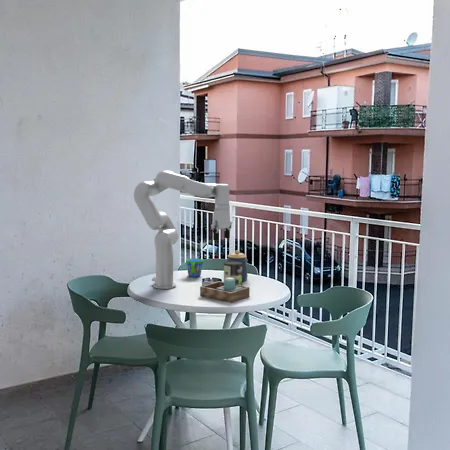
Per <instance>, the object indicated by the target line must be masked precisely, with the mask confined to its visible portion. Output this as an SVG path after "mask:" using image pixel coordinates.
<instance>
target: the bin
mask: <svg viewBox="0 0 450 450" xmlns="http://www.w3.org/2000/svg"><path fill="white" fill-rule="evenodd" d="M221 286H224V281H216V282H212V283H211V282H210V283H208V284H205V285H201V286H200V287H199V288H200V289H199V296H200V297H203V298H207V299H212V300H215V301H216V300H217V301H221V302H226V303H230V304H232V303H235V302H237V301H240V300H243V299H247V298H249V297H250V286H246V285H242V286H241V285H236V284H235V286H238V287H243V289H240V290H237V291H234V292H227V291H222V290H217V289H216V288H218V287H221Z"/></svg>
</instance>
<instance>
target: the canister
mask: <svg viewBox="0 0 450 450" xmlns="http://www.w3.org/2000/svg"><path fill="white" fill-rule="evenodd" d="M227 257H228V258H226V260H225V262H227V261H238V262H242V282H245V281H247V280H248V277H249V276H248V267H249V266H248V261H249V260H248V259H247V255H246V254H245V253H243V252H240V250H238V249H237V250H235V251H234V252H231V253H229V254H227Z"/></svg>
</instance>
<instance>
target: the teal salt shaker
mask: <svg viewBox="0 0 450 450" xmlns="http://www.w3.org/2000/svg"><path fill="white" fill-rule="evenodd" d="M223 282H224V289H229V290H232V289H235V280H234V278H230V277H229V278H225V280H224V279H223Z"/></svg>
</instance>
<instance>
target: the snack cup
mask: <svg viewBox="0 0 450 450" xmlns="http://www.w3.org/2000/svg"><path fill="white" fill-rule="evenodd" d="M185 263H186V268H187V275H188V277H191V278H198V277H201V275H202V270H203V264H204V259H203V258H199V257H198V258H197V257H196V258H195V257H194V258H192V257H191V258H186V259H185Z"/></svg>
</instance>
